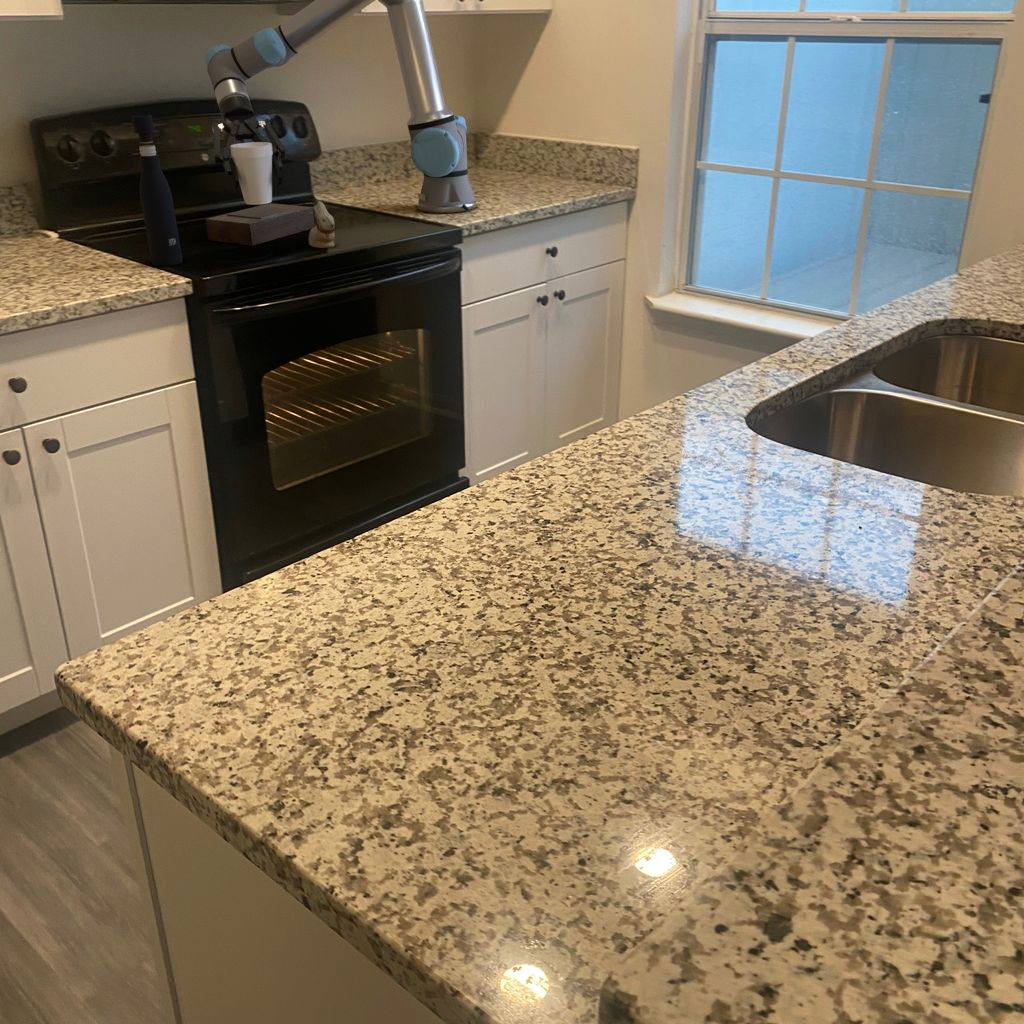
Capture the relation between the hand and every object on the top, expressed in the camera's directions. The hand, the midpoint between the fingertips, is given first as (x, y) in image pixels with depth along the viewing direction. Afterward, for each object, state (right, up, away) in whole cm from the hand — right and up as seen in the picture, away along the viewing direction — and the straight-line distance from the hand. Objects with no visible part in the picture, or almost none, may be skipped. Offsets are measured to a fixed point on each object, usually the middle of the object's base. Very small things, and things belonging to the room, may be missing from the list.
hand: (258, 182), depth 240 cm
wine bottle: (-16, -23, -17) cm, 33 cm away
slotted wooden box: (-1, -10, +8) cm, 13 cm away
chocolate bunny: (+16, -16, -5) cm, 23 cm away
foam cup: (-1, -3, +5) cm, 6 cm away
